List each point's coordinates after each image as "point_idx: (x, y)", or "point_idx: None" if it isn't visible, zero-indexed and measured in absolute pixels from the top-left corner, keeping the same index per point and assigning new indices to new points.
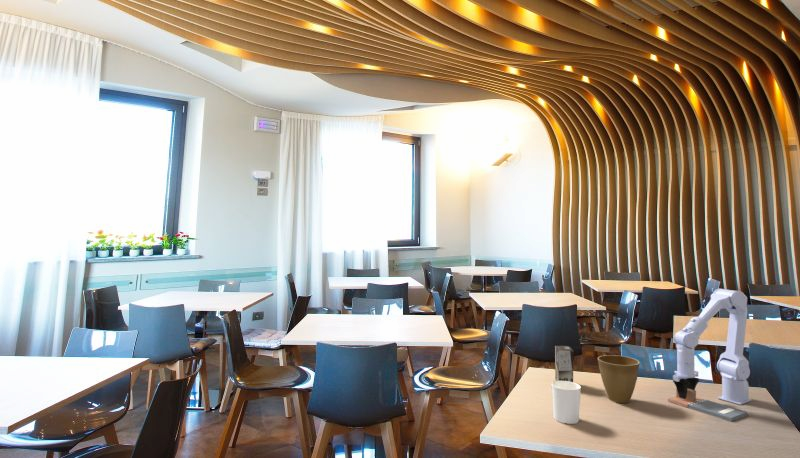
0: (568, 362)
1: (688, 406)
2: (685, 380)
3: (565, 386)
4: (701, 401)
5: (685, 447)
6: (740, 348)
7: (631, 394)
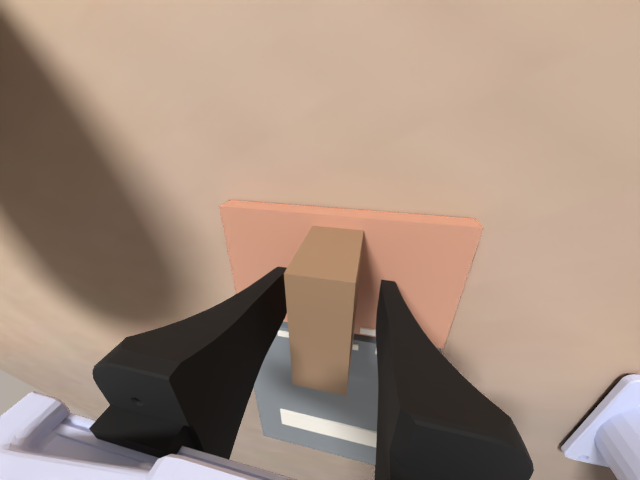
0: None
1: None
2: (392, 399)
3: None
4: (371, 348)
5: (11, 367)
6: None
7: None
